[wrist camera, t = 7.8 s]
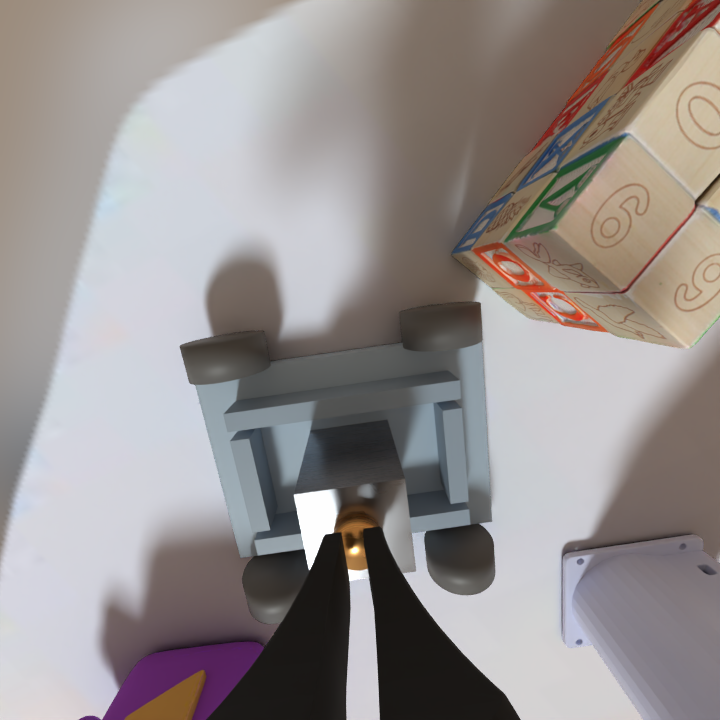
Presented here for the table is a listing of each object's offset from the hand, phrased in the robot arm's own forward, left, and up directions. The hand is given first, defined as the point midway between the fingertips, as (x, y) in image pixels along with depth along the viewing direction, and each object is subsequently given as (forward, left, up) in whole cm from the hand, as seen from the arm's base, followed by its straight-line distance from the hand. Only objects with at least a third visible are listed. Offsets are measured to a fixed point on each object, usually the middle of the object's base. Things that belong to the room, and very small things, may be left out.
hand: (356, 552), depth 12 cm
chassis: (0, 0, -8) cm, 8 cm away
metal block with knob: (0, 0, -7) cm, 7 cm away
